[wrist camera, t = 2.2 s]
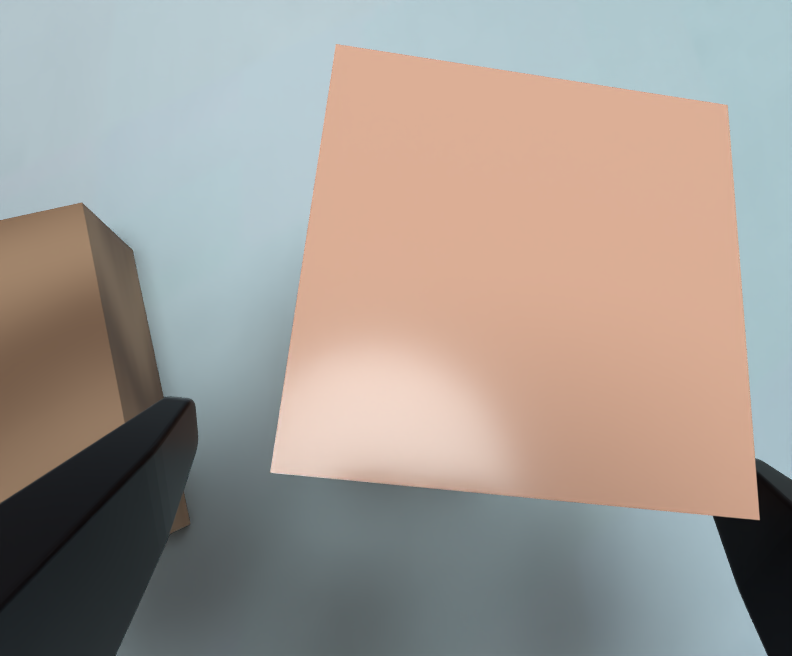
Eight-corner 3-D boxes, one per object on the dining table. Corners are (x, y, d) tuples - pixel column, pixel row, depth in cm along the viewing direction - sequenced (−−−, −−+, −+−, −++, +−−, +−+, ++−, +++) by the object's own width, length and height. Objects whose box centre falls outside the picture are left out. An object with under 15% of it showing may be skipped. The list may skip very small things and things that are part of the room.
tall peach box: (479, 473, 18) (759, 519, 6) (323, 458, 17) (270, 472, 5) (487, 324, 19) (727, 105, 7) (343, 306, 19) (336, 43, 7)
